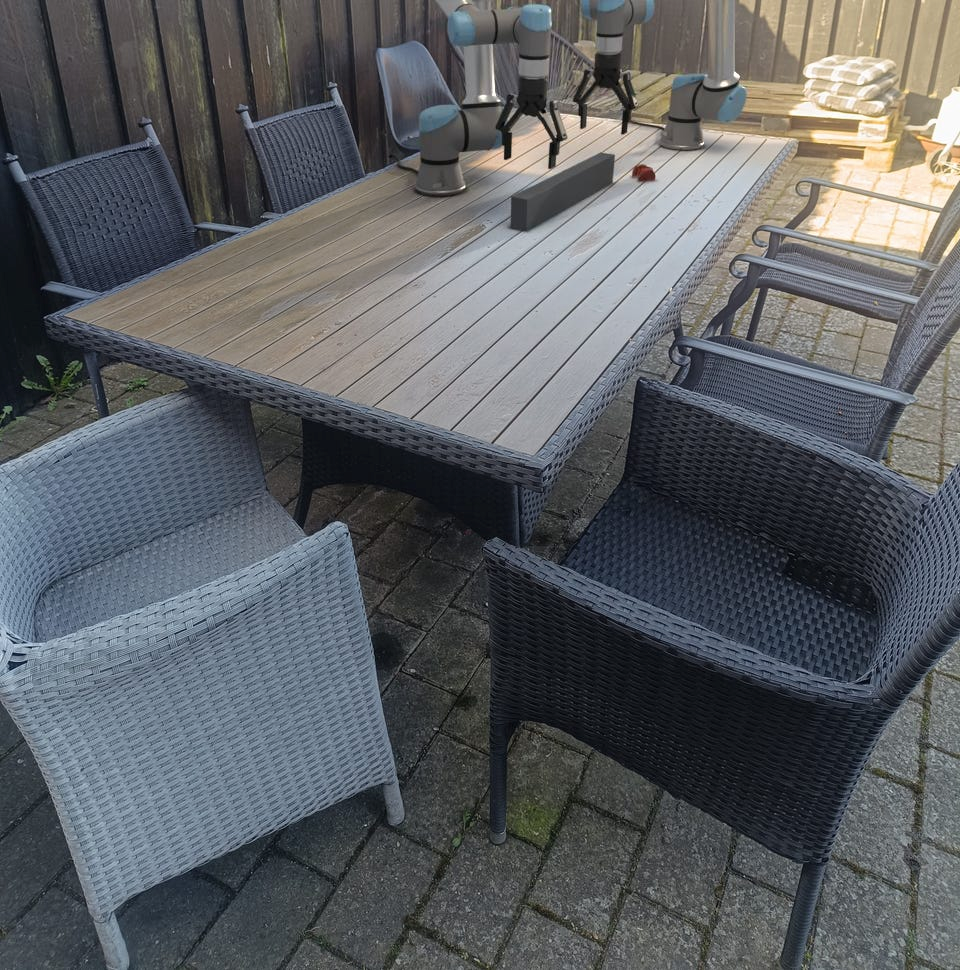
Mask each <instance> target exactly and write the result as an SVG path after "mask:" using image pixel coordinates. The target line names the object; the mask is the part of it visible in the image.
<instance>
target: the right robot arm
mask: <svg viewBox="0 0 960 970" xmlns="http://www.w3.org/2000/svg"><path fill="white" fill-rule="evenodd" d="M705 1H706V3H705V5H706V7H705V11H706V12H705V13H706V58H707V59H706V63H707V64H706V66H707V73H689V74H687V73H686V74H682V75H681V74H680V75H677V76H675V77H674V78H673V81H672V85H671V89H670V99H669V108H668V116H667V122H666V125H665V126H664V127H663V126H660V125H655V124H648V123H643V122H639V121H634V120H632V112H633V110H635V109H637V108H639V107H640V106H639V102H638V99H637V96H636V92H635V89H634V86H633V83H632V79H631V71H627V72H622V73H621V67H622V53H621V51H623V38H624V36H623V35H624V27H628V26H634V25H635V26H636V25H642V24H645V23H647V22H649V21H650V20H651V19H652V17H653V16H654V13H655V1H654V0H580V5H579V6H580V13H581V15H582V16H583V17H584V18H586V19H589V20H592V21H596V33H595V34H596V35H595V48H594V49H595V50H594V51H595V52H596V53H595V54H594V69H592V68H590V67H589V68H586V69H584V70H583V76H582V79H581V81H580V83H579V86H578V87H577V89H576V92H575V94H574V96H573V98H572V103H576V104H577V105H578V111H577V115H578V117H580V122H579V129H580V130H583V129H585V128H587V123H588V122H587V120H588V104H587V101H588V100H589V99H590V98H591V96H592V95H593V94H594V93H595V91H596V90H597V89H598V88H600V89H603V88H604V89H606V90H607V89H608V90H610V89H612V91H614V94H615V95H616V96H617V98H618V100H619V101H620V103H621V105H622V107H623V108H624V110H622V114H621V128H620V135H621V136H624V135H625V134H628V126H629V123H631V124H634V125H639V126H643V127H647V128H654V129H659V130H662V133H661V136H660V139H659V145H660V146H661V147H663V148H665V149H669V150H676V151H695V150H699V149H702V148H703V147H704V143H705V142H704V141H705V140H704V132H703V126H702V121H703V119H707V120H711V121H715V122H718V123H732V122H734V121H735V120H736V119H737V118H739V116H740V115H741V113H742V111H743V110H744V108H745V106H746V102H747V95H748V93H747V92H748V91H747V88H746V87H745V86H743V85H742V84H741V85H740V75H739V74H738V73H737V72H736V71H735V70H736V69H735V64H736V63H735V58H736V57H735V54H736V53H735V51H736V49H735V48H736V47H735V45H736V44H735V43H736V40H735V37H736V36H735V35H736V34H735V33H736V31H735V30H736V25H735V24H736V0H705ZM592 77H593V79H594V81H593V82H592V84H591V85H590V87H589V88H588V89H587V90H586V88H587V85H588V83H589V82H590V79H591V78H592ZM620 79H621V81H622V82H623V83H622V84H623V87H624V88H622V85H621V82H620ZM585 90H586V92H585ZM624 90H625V91H624ZM584 92H585V93H584Z"/></svg>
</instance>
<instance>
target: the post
mask: <svg viewBox="0 0 960 970" xmlns="http://www.w3.org/2000/svg"><path fill="white" fill-rule="evenodd" d="M615 159H616V154H614V153H613V154H612V153H607V152H598V153H597V154H594V155H592V156H590V157H588V158H586V159H584V160H582V161H580V162H578V163H576V164H574V165H571V166H570V167H568V168H566V169H564V170H562V171H559V172H558V173H556V174H554V175H551V176H550V177H547V178H546V179H544V180H542V181H539V182H538V183H536V184H534V185H531V186H530V187H527V188H526V189H524V190H521V191H520V192H517V193H516V194H513V195H511V196H510V229H514V230H517V231H523V232H528V231H530V230H531V229H533V228H535V227H537V226H538V225H540V224H542V223H543V222H546V221H547V220H549V219H551V218H553V217H554V216H556V215H559V214H560V213H561V212H563V211H565V210H567V209H569V208H570V207H572V206H574V205H576V204H577V203H579V202H581V201H583V200H585V199H587V198H588V197H591V196H592V195H593V194H595V193H598V192H599V191H600V190H603V189H605V188H606V187H608V186H610V185H612V184H613V181H614V171H615Z"/></svg>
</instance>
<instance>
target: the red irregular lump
mask: <svg viewBox="0 0 960 970" xmlns="http://www.w3.org/2000/svg"><path fill="white" fill-rule="evenodd" d="M631 177H637V181H638V182H649V181H655V180H656V173H655V171H654V169H653V167H651V166H648V165H647V164H644V163H642V164H637V165H635V166H634V167H633V169H632V172H631Z"/></svg>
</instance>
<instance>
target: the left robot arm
mask: <svg viewBox="0 0 960 970" xmlns="http://www.w3.org/2000/svg"><path fill="white" fill-rule="evenodd" d="M434 2H435V3H436V5H437V6H438V7H439V9H440V10H441V12H442V14H443V15H444V16H445V18H446V19H447V27H446V28H447V35H448V38H449V39H448V40H449V41H450V43H451V45H453V46H455V47H461V46H462V50H463V51H462V52H463V64H464V79H465V81H464V82H465V98H464V100H462V102H461V109H459V107H458V106H457V105H455V104H439V105H434V106H430V107H427V108H425V109H424V110H423V111H421V112H420V114H419V117H418V118H419V119H418V132H419V133H418V134H419V135H418V136H419V157H420V158H419V159H420V161H419V162H420V164H419V168H418V169H416V168H414V167H410V166H406V165H402V164H401V159H400V158H399V156H397V154H395V153H393V152H392V153H389V155H388V159H392V158H394V159H395V160H396V166H397V168H399V169H401V170H406V171H410V172H412V173H415V174H416V175H417V176H416V180H415V185H414V186H415V192H417V193H418V194H420V195H424V196H430V197H450V196H455V195H459V194H461V193H463V192H464V191H466V181H465V179H464V176H463V172H462V169H461V165H460V153H469V152H481V151H491V150H496V149H500V148H502V147H503V160H504V161H507V160H510V159H512V151H513V149H512V148H513V132H512V131H511V130H512V128H513V127H514V126H515V125H516V123H517V122H518V121H519V120H520V119H521V117H522V116H523V115H524V116H526V117H528V116H530V117H532V118H536V117H537V119H538V120H539V121H540V122H541V124H542V126H543V127H544V129H545V131H546V132H547V135H548V136H549V138H550V140H551V141H550V142H549V146H548V164H547V169H548V170H552V169H554V168H556V166H557V156H558V155H560V149H561V148H560V147H561V143H562V142H565V141H566V140H567V139H568V134H567V131H566V128H565V125H564V122H563V119H562V116H561V113H560V110H559V100H558V99H555V98H554V99H552V100H551V99H548V97H547V95H548V88H549V77H548V76H549V70H550V50H551V37H552V36H551V35H552V26H553V22H552V8H551V7H550V6H549V5H546V4H538V3H535V4H534V3H530V4H524V5H523V6H522V7H521V6H510V7H507V8H506V9H492V7H491V2H492V0H434ZM502 44H503V45H504V44H518V45H519V47H518V48H519V50H518V70H517V71H518V72H517V73H518V75H519V77H518V78H517V93H518V94H516V93H515V92H511V93H508V94H507V95H506V100H505V104H504V106H502V103H501V101H502V100H501V99H500V98H499V97H498V96H497V94H496V84H495V65H494V47H493V45H502ZM515 103H517V105H518V107H517V109H516V110H515V111H514V113H513V114H512V116H511V117H509V116H510V114H511V113H512V110H513V107H514V106H515ZM547 109H548V110H549V112H548V111H547ZM549 114H550V116H549Z"/></svg>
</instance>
